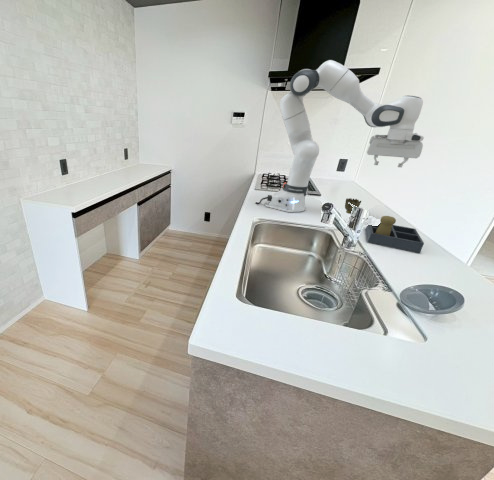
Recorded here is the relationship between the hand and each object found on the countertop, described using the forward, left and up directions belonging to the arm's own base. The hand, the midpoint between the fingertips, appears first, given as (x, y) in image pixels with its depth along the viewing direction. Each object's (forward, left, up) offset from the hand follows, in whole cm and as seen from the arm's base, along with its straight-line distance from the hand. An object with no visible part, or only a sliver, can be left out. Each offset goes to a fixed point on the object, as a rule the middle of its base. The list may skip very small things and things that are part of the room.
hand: (387, 166), depth 126 cm
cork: (+4, -26, -28) cm, 39 cm away
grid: (+8, -22, -29) cm, 37 cm away
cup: (-8, +10, -29) cm, 32 cm away
